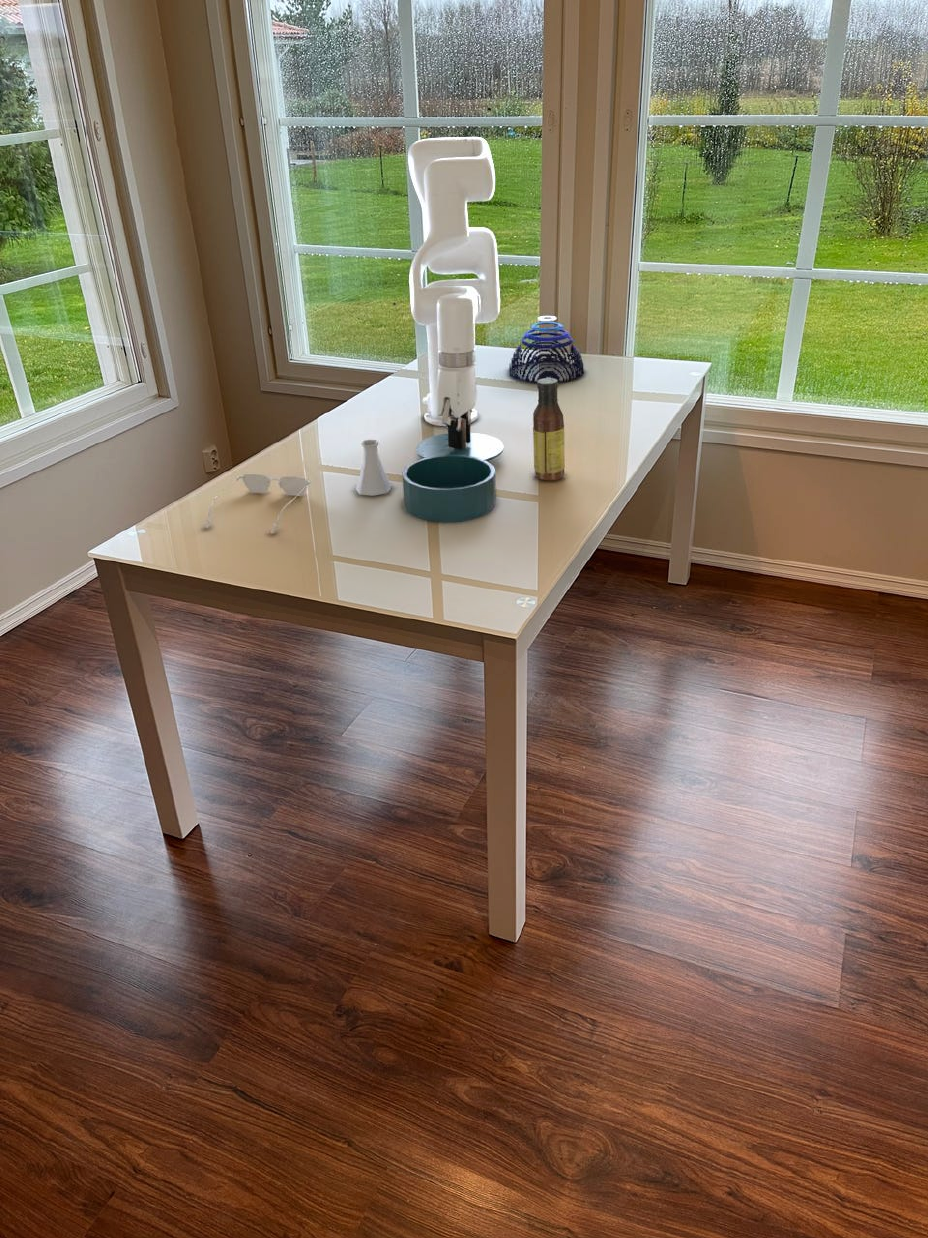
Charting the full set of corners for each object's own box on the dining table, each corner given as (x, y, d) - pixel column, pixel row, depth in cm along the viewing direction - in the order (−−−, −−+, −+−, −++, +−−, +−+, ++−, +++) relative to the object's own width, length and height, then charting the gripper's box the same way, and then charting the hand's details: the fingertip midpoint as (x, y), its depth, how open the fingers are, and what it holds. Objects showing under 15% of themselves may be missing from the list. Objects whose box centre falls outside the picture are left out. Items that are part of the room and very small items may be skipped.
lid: (398, 453, 203) (396, 420, 199) (461, 431, 213) (460, 400, 210) (458, 475, 191) (457, 441, 187) (521, 451, 202) (521, 418, 198)
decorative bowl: (587, 382, 248) (589, 326, 240) (510, 384, 248) (510, 328, 241) (580, 361, 265) (582, 308, 257) (508, 362, 265) (508, 310, 258)
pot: (385, 503, 184) (383, 472, 181) (451, 478, 195) (450, 448, 191) (447, 530, 173) (446, 497, 170) (513, 501, 183) (514, 470, 180)
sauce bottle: (567, 472, 196) (570, 376, 185) (560, 483, 191) (562, 386, 180) (536, 468, 198) (538, 374, 187) (528, 480, 193) (529, 383, 182)
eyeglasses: (313, 495, 189) (311, 477, 186) (278, 535, 173) (275, 515, 171) (241, 490, 192) (238, 472, 190) (201, 528, 177) (197, 509, 175)
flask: (355, 483, 193) (351, 436, 188) (391, 481, 194) (388, 434, 189) (355, 497, 187) (351, 449, 182) (392, 495, 188) (388, 447, 182)
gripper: (458, 346, 200) (460, 430, 209) (421, 366, 187) (425, 455, 197) (490, 349, 197) (491, 434, 206) (455, 370, 184) (458, 460, 194)
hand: (459, 444), depth 201 cm, fingers closed on lid, 2 cm apart
